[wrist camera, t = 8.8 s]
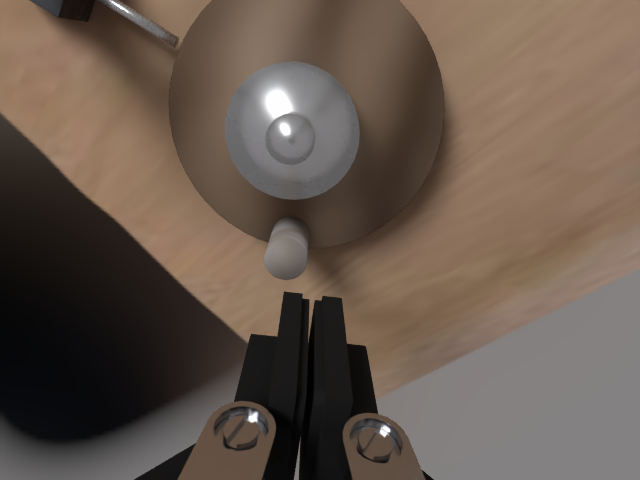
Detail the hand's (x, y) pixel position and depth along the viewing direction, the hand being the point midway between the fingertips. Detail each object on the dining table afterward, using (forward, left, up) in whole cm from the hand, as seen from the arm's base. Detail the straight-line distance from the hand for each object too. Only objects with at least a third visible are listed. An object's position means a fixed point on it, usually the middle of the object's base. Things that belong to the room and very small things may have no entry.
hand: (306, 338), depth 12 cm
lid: (+2, -4, -15) cm, 15 cm away
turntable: (+1, -4, -17) cm, 17 cm away
